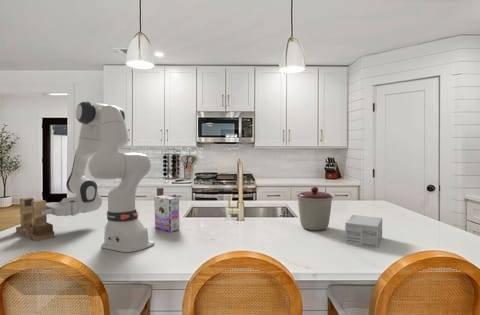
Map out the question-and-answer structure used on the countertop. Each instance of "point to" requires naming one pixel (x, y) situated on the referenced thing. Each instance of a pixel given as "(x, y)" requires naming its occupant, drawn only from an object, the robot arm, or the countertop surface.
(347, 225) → the supplement box
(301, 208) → the canister
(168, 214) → the candy box
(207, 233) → the countertop surface
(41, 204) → the light wood tall block
